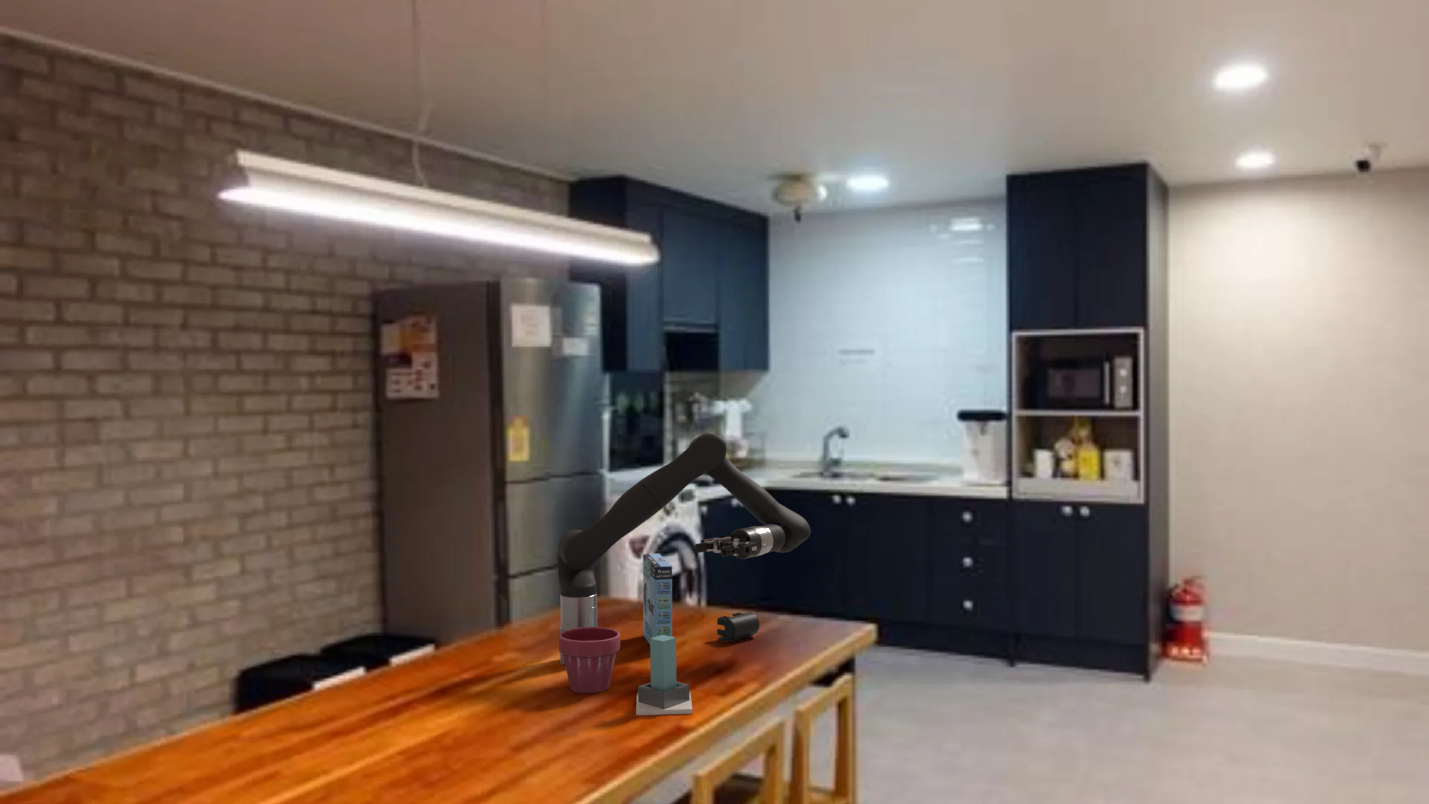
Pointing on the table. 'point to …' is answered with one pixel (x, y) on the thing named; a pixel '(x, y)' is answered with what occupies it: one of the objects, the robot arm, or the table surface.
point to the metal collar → (663, 695)
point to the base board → (677, 709)
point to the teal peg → (663, 662)
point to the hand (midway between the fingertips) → (708, 550)
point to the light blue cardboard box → (657, 596)
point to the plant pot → (589, 657)
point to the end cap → (738, 626)
